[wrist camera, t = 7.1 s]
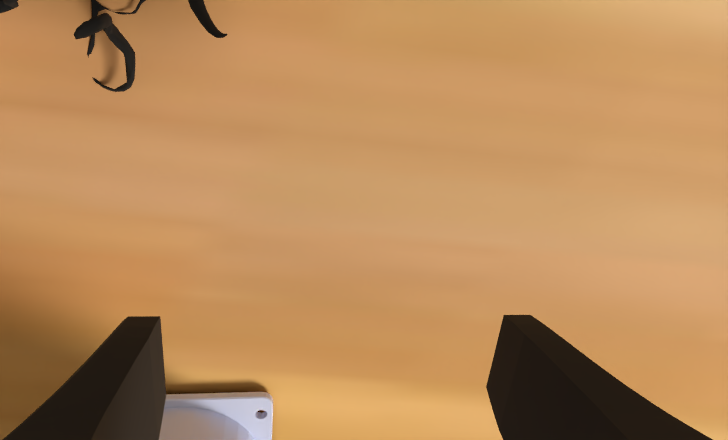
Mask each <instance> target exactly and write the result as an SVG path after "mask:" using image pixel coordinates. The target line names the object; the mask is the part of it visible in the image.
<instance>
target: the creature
mask: <svg viewBox="0 0 728 440" xmlns="http://www.w3.org/2000/svg"><path fill="white" fill-rule="evenodd" d="M17 1H18V0H0V13H2V12H6V11H9V10H11V9H14V8H16V7H18V6H19V5H18V2H17ZM144 1H146V0H140V2H139V4H138V5H137V7H136V9H135V10H134V11H133V12H132V13H124V12H115V13H118V14H134V13H136V12H137V10H138V9H139V7H140V5H141V4H142V3H143V2H144ZM188 1H189V4H190V7H191V9H192V10H193V12H194V14H195V15H196V17H197V18H198V20H199V21H200V23H201V24H202V25H203V27H204V28H205V29H206V30H207V31H208V32H209V33H210V34H212V35H213V36H214V37H216V38H223V37H225V36H226V35H227V34H223V33H221V32H220V31H219V30H218V29H217V28H216V27H215V25H214V24H213V22H212V20H211V18H210V16H209V14H208V12H207V10H206V7H205V4H204V1H203V0H188ZM91 2H92V18H91V19H90V20H89V21H85V22H83V23H82V24H81V25H80V26H79V27H78V28H77V29H76V31H75V33H74V36H75V38H76V39H80V38H86V37H88V36H91V39H90V43H89V48H88V52H87V55H88V57H89V54H91V52H92V49H93V47H94V41H95V33H97V32H99V31H101V30H104V31H105V33H106V34H107V36H108V38H109V39H110V40H111V41H112V42H113V44H114V45H115V46H116V47H117V48H118V49H119V50H121V51H122V52H123V53H124V57H125V64H126V76H127V83H125V84H123V85H121V86H120V87H118V88H116V89H112V88H109V87H107V86H104V85H102V84H101V83H99V82H98V81H97V80H96V79H95V78H93V77H92V78H93V80H94V81H95V82H96V83H97V84H99V85H100V86H102V87H103V88H106V89H108V90H111V91H114V92H119V91H125V90H127V89H129V88H130V87H131V86H132V83H133V81H134V76H135V52H134V51H133V49H132V47H131V46H130V44H129V43H128V41H127V40H126V39H125V38H124V36H123V35H122V34H121V33H120V32H119V30H118V29H117V27H116V26H115V25H114V24H113V23H112V18H111V17H110V16H109V14H108V13H103V14H101V15H99V16H97V15H98V11H101V10H104V9H107V8H105V7H103V6H101V5H100V4H99V3H98V2H97V1H95V0H91ZM107 10H109V9H107ZM110 11H111V10H110Z"/></svg>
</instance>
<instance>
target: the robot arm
mask: <svg viewBox="0 0 728 440" xmlns="http://www.w3.org/2000/svg"><path fill="white" fill-rule="evenodd" d="M486 388H487V391H488V395H489V398H490V402H491V405H492V409H493V412H494V415H495V418H496V422H497V425H498V428H499V431H500V433H501V435H502V438H503V440H713V439H711V438H709V437H707V436H705V435H704V434H702V433H700V432H699V431H697V430H695V429H693V428H692V427H690V426H688V425H687V424H685V423H683V422H682V421H680V420H678V419H676V418H675V417H673V416H671V415H670V414H668V413H667V412H665V411H663V410H662V409H660V408H659V407H657V406H656V405H654V404H653V403H651V402H650V401H648V400H647V399H645V398H644V397H642V396H641V395H639V394H638V393H636V392H635V391H633V390H632V389H630V388H629V387H628V386H626V385H625V384H623V383H622V382H620V381H619V380H618V379H616V378H615V377H613V376H612V375H611V374H609V373H608V372H607V371H605V370H604V369H602V368H601V367H600V366H598V365H597V364H596V363H594V362H593V361H592V360H590V359H589V358H588V357H586V356H585V355H584V354H582V353H581V352H580V351H579V350H577V349H576V348H575V347H573V346H572V345H571V344H569V343H568V342H567V341H565V340H564V339H563V338H562V337H560V336H559V335H558V334H556V333H555V332H554V331H552V330H551V329H550V328H548V327H547V326H546V325H544V324H543V323H541V322H540V321H539V320H537V319H536V318H534V317H533V316H531V315H504V317H503V321H502V325H501V329H500V333H499V337H498V341H497V345H496V350H495V354H494V358H493V362H492V366H491V370H490V374H489V378H488V382H487V386H486ZM259 410H264V411H265V412H262V413H260V412H257V411H259ZM272 418H273V398H272V396H271V395H270V394H269V393H267V392H233V393H198V394H166V387H165V374H164V360H163V347H162V334H161V321H160V317H127V318H126V319H125V320H124V321H122V322H121V324H120V325H119V326H118V327H117V328H116V329H115V330H114V331H113V332H112V334H111V335H110V336H109V337H108V338H107V339H106V340H105V341H104V342H103V344H102V345H101V346H100V347H99V348H98V349H97V350H96V351H95V352H94V353H93V354H92V355H91V357H90V358H89V359H88V360H87V361H86V362H85V363H84V364H83V365H82V366H81V367H80V368H79V369H78V370H77V371H76V372H75V373H74V374H73V375H72V376H71V377H70V378H69V379H68V380H67V381H66V382H65V383H64V384H63V385H62V386H61V387H60V388H59V389H58V390H57V391H56V392H55V393H54V394H53V395H52V396H51V397H50V398H49V399H48V400H47V401H45V402H44V403H43V404H42V405H41V406H40V407H39V408H38V409H37V410H36V411H35V412H34V413H32V414H31V415H30V416H29V417H28V418H27V419H26V420H25V421H24V422H23V423H22V424H20V425H19V426H18V427H17V428H16V429H15V430H13V431H12V432H11V433H10V434H9V435H8V436H6V437H5V438H4V439H3V440H272Z"/></svg>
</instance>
